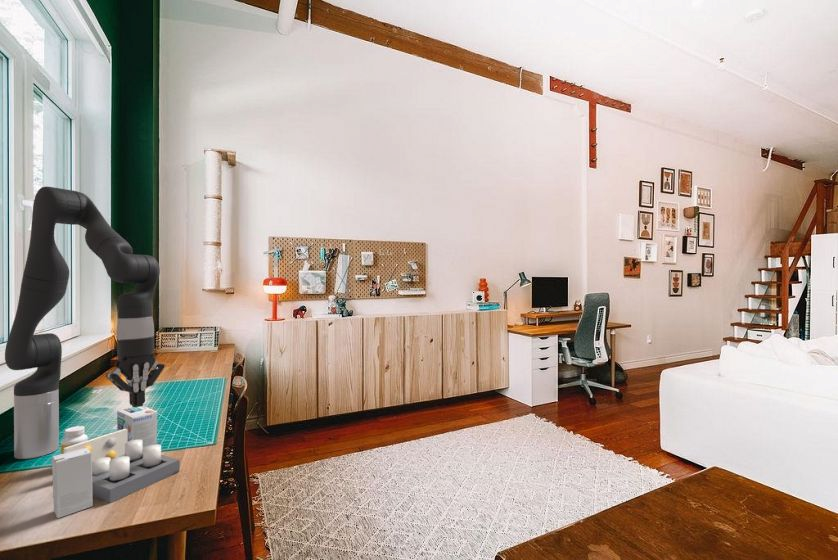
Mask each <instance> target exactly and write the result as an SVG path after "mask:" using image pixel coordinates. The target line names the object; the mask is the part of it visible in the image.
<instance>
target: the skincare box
mask: <svg viewBox="0 0 838 560" xmlns="http://www.w3.org/2000/svg"><path fill="white" fill-rule="evenodd" d="M51 467H52V469H51V471H52V496H53V497H52V498H53V500H52V501H53V513H54V515H55V516H56V518H57V519H60V518H63V517H66V516H69V515H72V514H74V513H78V512H81V511H83V510H85V509H88V508H91V507H93V505H94V504H93V503H94V502H93V499H94V498H93V496H92V462H91V452H90V451H89V450H88V448H83V449H79V450H75V451H72V452H68V453H64V454H61V453H60V454H57V455H53V456H52V457H51Z"/></svg>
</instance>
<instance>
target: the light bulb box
mask: <svg viewBox="0 0 838 560" xmlns="http://www.w3.org/2000/svg"><path fill="white" fill-rule="evenodd" d="M116 417H117V418H116V425H117V427H116V429H117V430H116V431H119V430H123V429H127V433H128V441H132V440H142V445H143V448H145V447H147V446H150V445H158V411H157V410H154V409H152V408H149V407H147V406H144V405H143V406H140V407H132V406H131V407H128V408H125V409H120V410H117V413H116Z"/></svg>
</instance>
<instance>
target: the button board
mask: <svg viewBox="0 0 838 560" xmlns="http://www.w3.org/2000/svg"><path fill="white" fill-rule="evenodd" d="M122 456H125V455H122ZM122 456H119V457H122ZM111 460H112V459H111ZM180 463H181V460H180V459H178V458H174V457H171V456H168V455H163V454H161V463H159V464H157V465H155V466H150V467H145V466H143V456H142V457H141V458H139V459H137V460H133V461H130V475H129V476H128V477H126V478H124V479H121V480H115V481H112V480H110V479H109V472H106V473H104V474H101V475H99V476H96V477H95V476H92V497H94V498H95V499H99V500H102V501H104V502H106V503H109V504H112V503H114V502H116V501H118V500H120V499H123V498H124V497H125V498H126V497H127V496H129V495H131V494H133V493H137V492H138V491H141V490H142V489H143V490H144V489H145V488H146V487H149V486H151V485H153V484H155V483H158V482H160V481H162V480H164V479H167V478H168V477H169V478H170V477H172V476H174V475H175V474H178V473H180V470H181V469H180Z"/></svg>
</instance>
